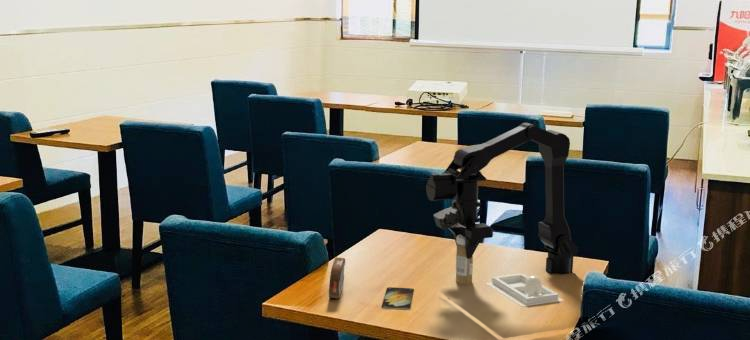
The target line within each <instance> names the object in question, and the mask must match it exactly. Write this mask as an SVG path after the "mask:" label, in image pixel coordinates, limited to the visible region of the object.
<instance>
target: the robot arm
mask: <svg viewBox="0 0 750 340" xmlns="http://www.w3.org/2000/svg"><path fill="white" fill-rule="evenodd" d="M529 141H531V142H533V143H536V144H537V145H538V149H539V154H540V157H541V158H542V161H543V163H544V178H545V180H544V181H545V183H544V185H545V188H544V190H545V217H544V219H543V221H538V222H537V223H538V224H537V225H538V226H537V227H538V233H537V236H538V237H539V239H540V241H541V243H543V245H544V248H545V249H546V250H548V252H547V257H546V258H545V259H546V261H545V272H547V273H549V274H551V275H552V274H554V275H556V274H557V275H569V274H573V275H575V276H577V274H576V273H575V272H573V271H574V270H573V269H574V257H577V255H578V253H579V250H580V249H579V247H578V246H577V245H576V244H575V243H574V242H573V241H572V238H571V231H570V227H569V225H568V222H567V220H566V217H565V188H564V187H565V182H564V180H565V178H564V176H565V175H564V166H565V163H566V161H567V159H568V157H569V153H570V147H571V141H570V137H568V136H567V134H565V133H561V132H558V131H556V130H551V129H547V130H545V129H543V128H540V127H538V126H537V125H535V124H533V123H530V122H522V123H521V124H519V126H517V127H514V128H513V129H511V130H508V131H506V132H504V133H502V134H499V135H497V136H496V137H494V138H492V139H490V140H488V141H486V142H483V143H481V144H479V143H478V144H473V145H468V146H465V147H461V148H459V149H457V150H456V151H455V152H454V156H453V159H452V160H451V161H450V163H449V164H448V166H447V168H446V169H445V171H444V173H436V172H435V173H430V174H429V176H430V177H429V178H428V179H427V180H428V181H427V182H426V186H425V191H426V196H427V199H428V200H429V201H431V202H433V201H444V200H445V201H447V200H452V201H451V202H450V207H448V208H444V209H442V210H440V211H438V212H436V213H433V219H434V222H435V225H436V227H438V228H440V229H441V230H443V231H444V230H449V231H451V233H452V235H453V237H454V241H455V246H456V247H457V243H456V237H457V235H461V236H462V237H463V238H464V239H465V247H466V257H467V259H470V258H471V257H472V256H473V255H474V253H475V251H476V250H477V248H478V246H479V245H480V243H481V242H482V240H483V239H489V238H493V237H494V229H493V228H492V227H491V226H490V225H489V224H486V223H484V222H483V223H482V222H481V218H480V217H478V208H481V205H482V203H481V202H480V201H478V199H479V198H478V197H479V182H481V181H483V182H485V181H487V177H485V176H484V174H483V173H482V172H481V170H483V169H484V168H485V167H487V166H488V165H489V163H490V162H491V161H492V160H494V159H495V158H497V157H498V156H502V155H503V154H504V153H507V152H509V151H511V150H513V149H515V148H517V147H519V146H521V145H523V144H525V143H527V142H529ZM459 170H460V171H459ZM454 198H455V199H454ZM480 222H481V223H480ZM473 257H474V256H473Z"/></svg>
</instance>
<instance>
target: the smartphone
mask: <svg viewBox="0 0 750 340" xmlns="http://www.w3.org/2000/svg"><path fill="white" fill-rule="evenodd" d="M414 292H415V289H414V288H410V287H394V286H393V287H392V286H390V287H386V290H385V293H384V297H383V300H382V302H381V307H380V308H381V309H386V310H402V311H403V310H407V311H409V310H411V308H412V304H413V298H414Z"/></svg>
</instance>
